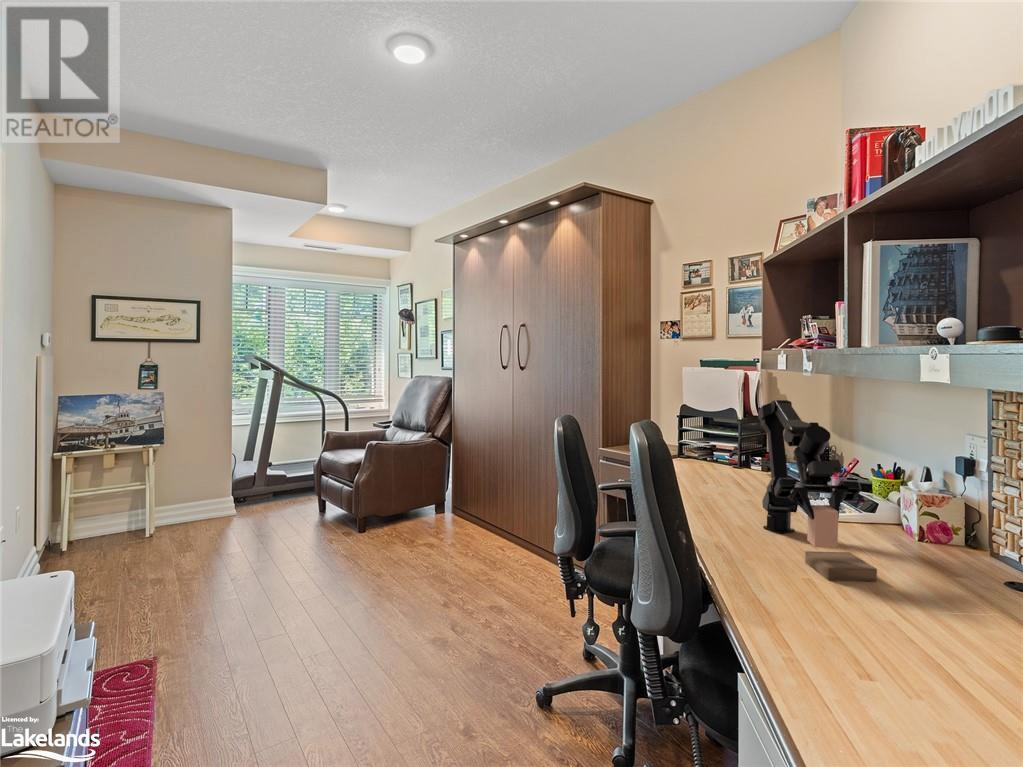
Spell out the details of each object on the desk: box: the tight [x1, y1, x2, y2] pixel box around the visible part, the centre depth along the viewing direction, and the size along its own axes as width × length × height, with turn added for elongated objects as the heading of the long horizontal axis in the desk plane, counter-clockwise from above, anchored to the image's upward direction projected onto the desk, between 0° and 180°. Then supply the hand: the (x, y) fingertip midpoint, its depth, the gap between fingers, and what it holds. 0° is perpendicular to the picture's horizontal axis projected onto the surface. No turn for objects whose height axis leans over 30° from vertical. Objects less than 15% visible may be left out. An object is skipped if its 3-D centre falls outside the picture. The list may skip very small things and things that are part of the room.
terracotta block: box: [806, 504, 839, 549], centre depth 130 cm, size 5×5×9 cm
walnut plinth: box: [804, 550, 878, 582], centre depth 130 cm, size 11×11×3 cm
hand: (825, 519), depth 128 cm, fingers closed on terracotta block, 5 cm apart
